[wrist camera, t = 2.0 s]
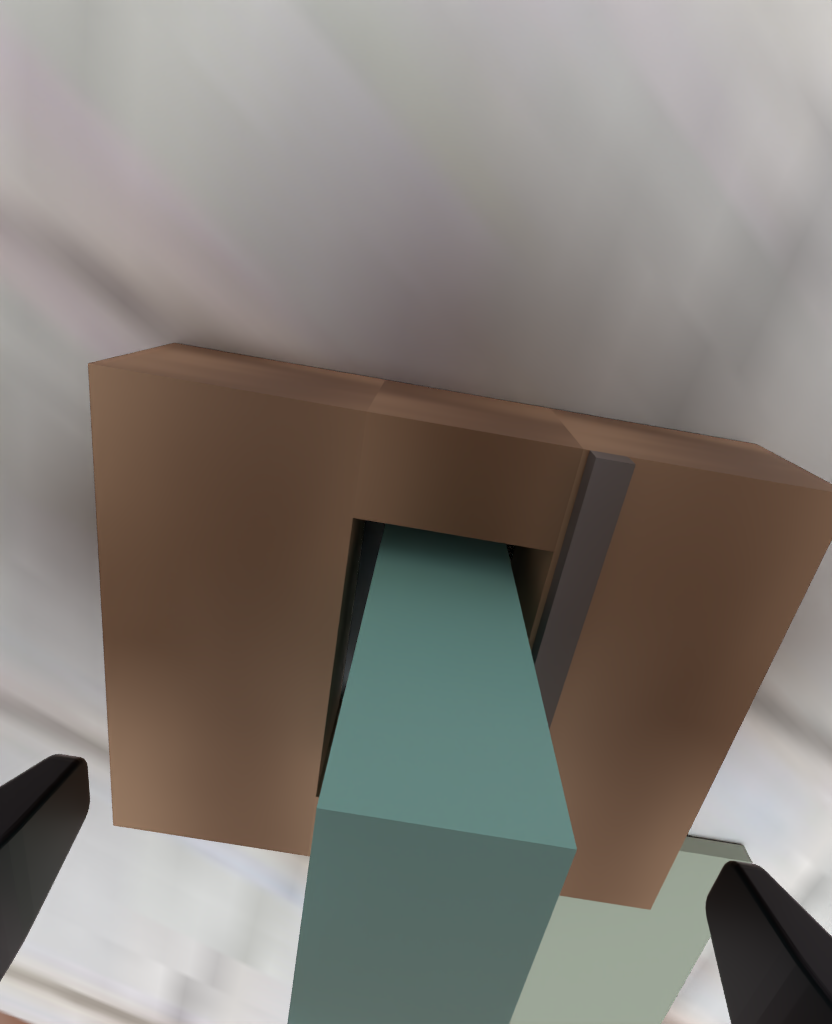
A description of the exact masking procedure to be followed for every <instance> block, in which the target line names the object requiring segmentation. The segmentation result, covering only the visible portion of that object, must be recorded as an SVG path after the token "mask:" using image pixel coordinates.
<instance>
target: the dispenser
mask: <svg viewBox="0 0 832 1024" xmlns="http://www.w3.org/2000/svg"><path fill="white" fill-rule="evenodd" d="M88 372H89V391H90V409H91V427H92V445H93V464H94V482H95V500H96V518H97V537H98V555H99V573H100V591H101V610H102V628H103V646H104V664H105V682H106V701H107V719H108V737H109V755H110V774H111V792H112V810H113V825H114V826H120V827H127V828H133V829H140V830H146V831H152V832H159V833H165V834H171V835H178V836H184V837H190V838H197V839H203V840H209V841H216V842H222V843H228V844H235V845H241V846H247V847H254V848H260V849H267V850H273V851H279V852H286V853H292V854H298V855H305V856H310V853H311V846H312V838H313V831H314V823H315V816H316V808H317V804H318V800H319V796H320V792H321V788H322V784H323V779H324V775H325V771H326V767H327V763H328V759H329V755H330V751H331V746H332V742H333V738H334V734H335V730H336V726H337V722H338V718H339V713H340V709H341V705H342V701H343V699H340V697H341V690H342V682H343V675H344V668H345V661H346V654H347V647H348V640H349V633H350V626H351V619H352V612H353V605H354V598H355V591H356V584H357V577H358V570H359V563H360V556H361V548H362V541H363V534H364V527H365V520H369V521H375V522H381V523H386V524H392V525H398V526H404V527H410V528H416V529H422V530H428V531H434V532H440V533H446V534H452V535H457V536H463V537H469V538H475V539H481V540H487V541H493V542H499V543H505V544H511V545H515V549H514V553H513V557H512V561H511V567H512V572H513V576H514V580H515V585H516V589H517V593H518V598H519V602H520V606H521V610H522V615H523V619H524V623H525V628H526V632H527V636H528V641H529V645H530V649H531V654H532V658H533V662H534V666H535V671H536V675H537V679H538V684H539V688H540V692H541V697H542V701H543V705H544V710H545V714H546V718H547V722H548V727H549V731H550V735H551V740H552V744H553V748H554V753H555V757H556V761H557V766H558V770H559V774H560V778H561V783H562V787H563V791H564V796H565V800H566V804H567V809H568V813H569V817H570V822H571V826H572V830H573V834H574V839H575V843H576V847H577V851H576V853H575V856H574V859H573V861H572V864H571V866H570V869H569V871H568V874H567V877H566V879H565V882H564V884H563V887H562V889H561V892H560V895H559V896H565V897H571V898H578V899H584V900H590V901H597V902H603V903H609V904H616V905H622V906H628V907H635V908H641V909H648V910H651V908H652V906H653V904H654V902H655V900H656V898H657V895H658V893H659V891H660V889H661V887H662V885H663V883H664V881H665V879H666V877H667V875H668V873H669V871H670V869H671V867H672V865H673V863H674V861H675V859H676V857H677V855H678V853H679V851H680V849H681V846H682V844H683V842H684V840H685V838H686V836H687V834H688V832H689V830H690V828H691V826H692V824H693V822H694V820H695V818H696V816H697V814H698V812H699V810H700V808H701V806H702V804H703V802H704V800H705V797H706V795H707V793H708V791H709V789H710V787H711V785H712V783H713V781H714V779H715V777H716V775H717V773H718V771H719V769H720V767H721V765H722V763H723V761H724V759H725V757H726V755H727V753H728V750H729V748H730V746H731V744H732V742H733V740H734V738H735V736H736V734H737V732H738V730H739V728H740V726H741V724H742V722H743V720H744V718H745V716H746V714H747V712H748V710H749V708H750V706H751V704H752V701H753V699H754V697H755V695H756V693H757V691H758V689H759V687H760V685H761V683H762V681H763V679H764V677H765V675H766V673H767V671H768V669H769V667H770V665H771V663H772V661H773V659H774V657H775V655H776V652H777V650H778V648H779V646H780V644H781V642H782V640H783V638H784V636H785V634H786V632H787V630H788V628H789V626H790V624H791V622H792V620H793V618H794V616H795V614H796V612H797V610H798V608H799V606H800V603H801V601H802V599H803V597H804V595H805V593H806V591H807V589H808V587H809V585H810V583H811V581H812V579H813V577H814V575H815V573H816V571H817V569H818V567H819V565H820V563H821V561H822V559H823V556H824V554H825V552H826V550H827V548H828V546H829V544H830V542H831V540H832V484H831V483H829V482H827V481H825V480H823V479H821V478H819V477H817V476H815V475H814V474H812V473H810V472H808V471H806V470H804V469H802V468H800V467H798V466H797V465H795V464H793V463H791V462H789V461H787V460H785V459H783V458H782V457H780V456H778V455H776V454H774V453H772V452H770V451H768V450H766V449H765V448H763V447H761V446H759V445H757V444H752V443H747V442H741V441H735V440H729V439H724V438H718V437H712V436H706V435H701V434H695V433H689V432H683V431H678V430H672V429H666V428H660V427H655V426H649V425H643V424H637V423H632V422H626V421H620V420H614V419H609V418H603V417H597V416H591V415H586V414H580V413H574V412H568V411H563V410H557V409H551V408H545V407H540V406H534V405H528V404H522V403H517V402H511V401H505V400H499V399H494V398H488V397H482V396H476V395H471V394H465V393H459V392H453V391H448V390H442V389H436V388H430V387H425V386H419V385H413V384H407V383H402V382H396V381H390V380H384V379H379V378H373V377H367V376H361V375H356V374H350V373H344V372H338V371H333V370H327V369H321V368H315V367H310V366H304V365H298V364H292V363H287V362H281V361H275V360H269V359H264V358H258V357H252V356H246V355H241V354H235V353H229V352H223V351H218V350H212V349H206V348H200V347H195V346H189V345H183V344H177V343H172V344H168V345H163V346H159V347H155V348H151V349H147V350H142V351H138V352H134V353H130V354H125V355H121V356H117V357H113V358H109V359H104V360H100V361H96V362H92V363H88Z"/></svg>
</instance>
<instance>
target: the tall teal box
mask: <svg viewBox="0 0 832 1024" xmlns="http://www.w3.org/2000/svg"><path fill="white" fill-rule="evenodd" d="M576 851H577V847H576V843H575V839H574V834H573V830H572V826H571V822H570V817H569V813H568V809H567V804H566V800H565V796H564V791H563V787H562V783H561V778H560V774H559V770H558V766H557V761H556V757H555V753H554V748H553V744H552V740H551V735H550V731H549V727H548V722H547V718H546V714H545V710H544V705H543V701H542V697H541V692H540V688H539V684H538V679H537V675H536V671H535V666H534V662H533V658H532V654H531V649H530V645H529V641H528V636H527V632H526V628H525V623H524V619H523V615H522V610H521V606H520V602H519V598H518V593H517V589H516V585H515V580H514V576H513V572H512V567H511V563H510V559H509V554H508V550H507V546H506V544H505V543H499V542H493V541H487V540H481V539H475V538H469V537H463V536H457V535H452V534H446V533H440V532H434V531H428V530H422V529H416V528H410V527H404V526H398V525H392V524H385V528H384V532H383V536H382V540H381V544H380V548H379V553H378V557H377V561H376V565H375V569H374V573H373V577H372V581H371V586H370V590H369V594H368V598H367V602H366V606H365V610H364V614H363V619H362V623H361V627H360V631H359V635H358V639H357V643H356V647H355V652H354V656H353V660H352V664H351V668H350V672H349V676H348V680H347V685H346V689H345V693H344V697H343V701H342V705H341V709H340V713H339V718H338V722H337V726H336V730H335V734H334V738H333V742H332V746H331V751H330V755H329V759H328V763H327V767H326V771H325V775H324V779H323V784H322V788H321V792H320V796H319V800H318V804H317V808H316V816H315V823H314V831H313V838H312V846H311V853H310V861H309V868H308V875H307V883H306V890H305V898H304V905H303V913H302V920H301V927H300V935H299V942H298V950H297V957H296V965H295V972H294V980H293V987H292V994H291V1002H290V1009H289V1017H288V1024H509V1023H510V1020H511V1018H512V1015H513V1013H514V1010H515V1008H516V1005H517V1002H518V1000H519V997H520V995H521V992H522V990H523V987H524V984H525V982H526V979H527V977H528V974H529V972H530V969H531V966H532V964H533V961H534V959H535V956H536V954H537V951H538V948H539V946H540V943H541V941H542V938H543V936H544V933H545V930H546V928H547V925H548V923H549V920H550V918H551V915H552V912H553V910H554V907H555V905H556V902H557V900H558V897H559V895H560V892H561V889H562V887H563V884H564V882H565V879H566V877H567V874H568V871H569V869H570V866H571V864H572V861H573V859H574V856H575V853H576Z"/></svg>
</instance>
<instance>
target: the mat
mask: <svg viewBox="0 0 832 1024" xmlns="http://www.w3.org/2000/svg"><path fill="white" fill-rule="evenodd" d="M729 861H739V862H746V863H752V861H751V859H750V857H749V855H748V853H747V851H746V849H745V847H744V846H743V845H737V844H731V843H724V842H718V841H712V840H706V839H699V838H693V837H687V836H686V838H685V840H684V842H683V844H682V846H681V849H680V851H679V853H678V855H677V857H676V859H675V861H674V863H673V865H672V867H671V869H670V871H669V873H668V875H667V877H666V879H665V881H664V883H663V885H662V887H661V889H660V891H659V893H658V895H657V898H656V900H655V902H654V904H653V906H652V908H651V910H648V909H641V908H635V907H628V906H622V905H616V904H609V903H603V902H597V901H590V900H584V899H578V898H571V897H565V896H559V897H558V900H557V902H556V905H555V907H554V910H553V912H552V915H551V918H550V920H549V923H548V925H547V928H546V930H545V933H544V936H543V938H542V941H541V943H540V946H539V948H538V951H537V954H536V956H535V959H534V961H533V964H532V966H531V969H530V972H529V974H528V977H527V979H526V982H525V984H524V987H523V990H522V992H521V995H520V997H519V1000H518V1002H517V1005H516V1008H515V1010H514V1013H513V1015H512V1018H511V1020H510V1023H509V1024H661V1023H662V1021H663V1020H664V1018H665V1016H666V1014H667V1012H668V1011H669V1009H670V1007H671V1005H672V1004H673V1002H674V1000H675V998H676V997H677V995H678V993H679V991H680V989H681V988H682V986H683V984H684V982H685V981H686V979H687V977H688V975H689V974H690V972H691V970H692V968H693V967H694V965H695V963H696V961H697V959H698V958H699V956H700V954H701V952H702V951H703V949H704V947H705V945H706V944H707V942H708V940H709V938H710V937H711V935H710V931H709V926H708V922H707V918H706V909H705V906H706V899H707V895H708V893H709V891H710V890H711V888H712V886H713V884H714V882H715V880H716V879H717V877H718V875H719V873H720V871H721V869H722V867H723V866H724V864H725V863H727V862H729Z"/></svg>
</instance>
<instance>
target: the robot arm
mask: <svg viewBox="0 0 832 1024" xmlns="http://www.w3.org/2000/svg"><path fill="white" fill-rule="evenodd" d="M89 804H90V793H89V779H88V766H87V762H86V761H85V759H84V758H81V757H76V756H69V755H63V754H55V755H52V756H49V757H48V758H46V759H44V760H43V761H41V762H39V763H38V764H36V765H34V766H33V767H31V768H30V769H28V770H26V771H25V772H23V773H22V774H20V775H18V776H17V777H15V778H13V779H12V780H10V781H9V782H7V783H5V784H4V785H2V786H1V787H0V981H1V979H2V978H3V976H4V975H5V973H6V971H7V970H8V968H9V966H10V965H11V963H12V961H13V960H14V958H15V956H16V954H17V953H18V951H19V949H20V948H21V946H22V944H23V942H24V941H25V939H26V937H27V935H28V933H29V931H30V929H31V927H32V925H33V923H34V921H35V919H36V917H37V915H38V913H39V911H40V909H41V907H42V905H43V903H44V901H45V899H46V897H47V895H48V893H49V891H50V889H51V887H52V885H53V883H54V881H55V879H56V877H57V875H58V873H59V871H60V869H61V867H62V865H63V863H64V861H65V859H66V857H67V855H68V853H69V851H70V849H71V847H72V844H73V842H74V840H75V838H76V836H77V834H78V832H79V830H80V828H81V826H82V824H83V822H84V820H85V818H86V815H87V813H88V809H89ZM705 909H706V918H707V922H708V926H709V931H710V935H711V939H712V943H713V948H714V952H715V956H716V961H717V965H718V969H719V973H720V978H721V982H722V986H723V990H724V995H725V999H726V1003H727V1007H728V1012H729V1016H730V1020H731V1024H832V936H831V935H830V934H829V933H828V932H827V931H826V930H825V929H824V928H823V927H822V926H821V925H820V924H819V923H818V922H817V921H816V920H815V919H814V918H813V917H812V916H811V915H810V914H809V913H808V912H807V911H806V910H805V909H804V908H803V907H802V906H801V905H800V904H799V903H798V902H797V901H796V900H795V899H793V898H792V897H791V896H790V895H789V894H788V893H787V892H786V891H785V890H784V889H783V888H782V887H781V886H780V885H779V884H778V883H777V882H776V881H775V880H774V879H773V878H772V877H771V876H770V875H769V874H768V873H767V872H766V871H765V870H764V869H763V868H761V867H760V866H758V865H756V864H752V863H746V862H739V861H729V862H727V863H725V864H724V866H723V867H722V869H721V871H720V873H719V875H718V877H717V879H716V880H715V882H714V884H713V886H712V888H711V890H710V891H709V893H708V895H707V899H706V906H705Z"/></svg>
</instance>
